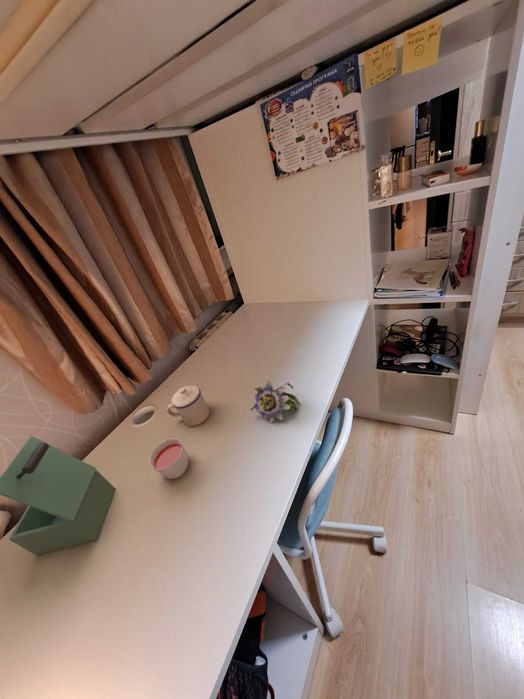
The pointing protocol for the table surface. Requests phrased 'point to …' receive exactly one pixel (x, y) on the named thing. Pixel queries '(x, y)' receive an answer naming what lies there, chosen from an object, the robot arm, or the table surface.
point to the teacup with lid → (189, 405)
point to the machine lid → (47, 479)
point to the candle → (169, 458)
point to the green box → (65, 522)
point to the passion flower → (273, 401)
